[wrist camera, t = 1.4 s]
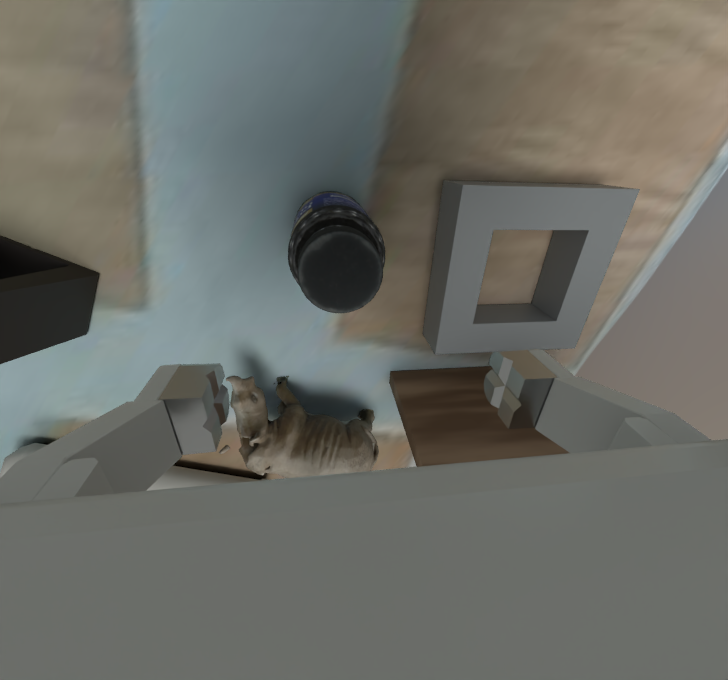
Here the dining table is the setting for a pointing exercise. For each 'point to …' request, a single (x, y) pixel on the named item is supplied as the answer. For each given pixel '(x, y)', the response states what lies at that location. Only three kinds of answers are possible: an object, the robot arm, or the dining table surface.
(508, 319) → the socket block
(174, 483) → the tube
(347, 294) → the pill bottle
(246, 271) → the dining table surface
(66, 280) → the phone stand
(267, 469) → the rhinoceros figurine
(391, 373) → the wood grain plank
